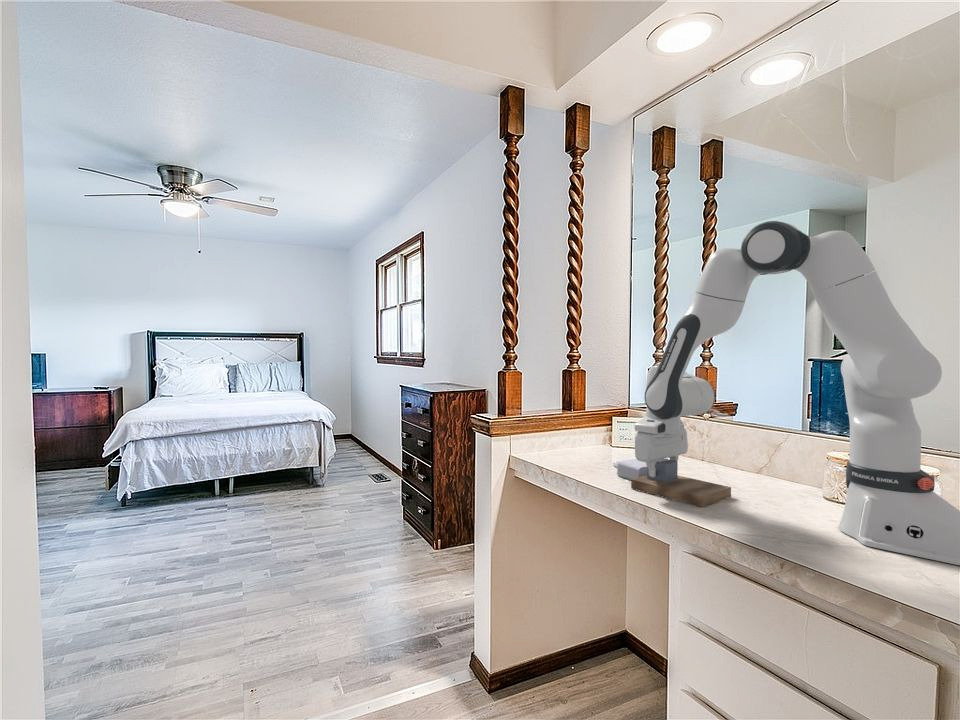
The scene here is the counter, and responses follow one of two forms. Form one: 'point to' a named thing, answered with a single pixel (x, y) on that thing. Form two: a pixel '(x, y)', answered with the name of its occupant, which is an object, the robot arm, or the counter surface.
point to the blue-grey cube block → (665, 471)
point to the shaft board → (684, 490)
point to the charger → (631, 468)
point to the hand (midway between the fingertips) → (662, 473)
